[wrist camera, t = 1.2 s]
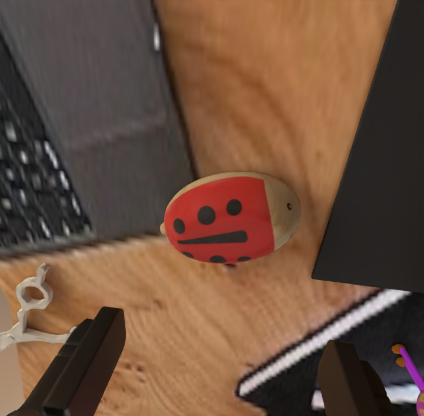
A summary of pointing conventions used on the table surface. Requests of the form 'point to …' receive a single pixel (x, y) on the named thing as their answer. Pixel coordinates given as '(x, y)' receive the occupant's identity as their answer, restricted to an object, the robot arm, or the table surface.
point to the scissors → (20, 329)
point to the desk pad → (384, 173)
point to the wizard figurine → (407, 362)
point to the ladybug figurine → (231, 217)
